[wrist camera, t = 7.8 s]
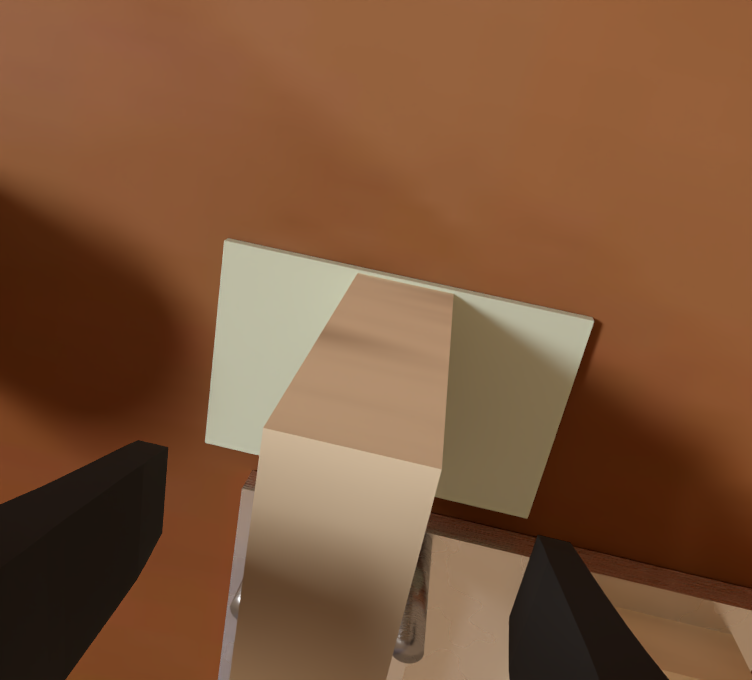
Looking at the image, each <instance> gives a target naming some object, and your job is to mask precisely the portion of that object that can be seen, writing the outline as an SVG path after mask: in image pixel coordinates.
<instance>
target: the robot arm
mask: <svg viewBox="0 0 752 680" xmlns="http://www.w3.org/2000/svg"><path fill="white" fill-rule="evenodd" d="M167 458H168V447H165V446H160V445H156V444H152V443H148V442H144V441H139V440H138V441H135V442H133V443H131V444H129V445H126V446H124V447H122V448H120V449H118V450H116V451H114V452H112V453H110V454H108V455H106V456H104V457H102V458H100V459H98V460H96V461H94V462H92V463H90V464H88V465H86V466H84V467H82V468H80V469H77V470H75V471H73V472H71V473H69V474H67V475H65V476H63V477H61V478H59V479H57V480H55V481H53V482H50V483H48V484H46V485H44V486H42V487H40V488H37V489H35V490H33V491H30V492H28V493H26V494H23V495H21V496H19V497H16V498H14V499H12V500H10V501H7V502H5V503H3V504H0V680H65V679H66V678H67V677H68V675H69V674H70V672H71V671H72V670H73V668H74V667H75V665H76V664H77V663H78V661H79V660H80V658H81V657H82V656H83V654H84V653H85V651H86V650H87V649H88V647H89V646H90V645H91V643H92V642H93V640H94V639H95V638H96V636H97V635H98V633H99V632H100V631H101V629H102V628H103V626H104V625H105V624H106V622H107V621H108V620H109V618H110V617H111V615H112V614H113V613H114V611H115V610H116V608H117V607H118V605H119V604H120V603H121V601H122V600H123V598H124V597H125V596H126V594H127V593H128V591H129V590H130V588H131V587H132V586H133V584H134V583H135V581H136V580H137V578H138V577H139V575H140V573H141V571H142V569H143V568H144V566H145V564H146V562H147V560H148V559H149V557H150V555H151V553H152V551H153V549H154V547H155V545H156V543H157V541H158V539H159V538H160V536H161V534H162V527H163V513H164V500H165V486H166V472H167ZM509 679H510V680H669V679H668V678H667V676H666V675H665V674H664V673H663V671H662V670H661V669H660V668H659V666H658V665H657V664H656V663H655V661H654V660H653V659H652V658H651V656H650V655H649V654H648V653H647V651H646V650H645V649H644V647H643V646H642V645H641V643H640V642H639V641H638V639H637V638H636V637H635V635H634V634H633V633H632V631H631V630H630V629H629V627H628V626H627V624H626V623H625V622H624V620H623V619H622V617H621V616H620V615H619V613H618V612H617V610H616V609H615V608H614V606H613V605H612V603H611V602H610V600H609V599H608V597H607V596H606V595H605V593H604V592H603V590H602V589H601V587H600V586H599V584H598V583H597V581H596V580H595V578H594V577H593V575H592V574H591V572H590V571H589V569H588V568H587V566H586V565H585V563H584V562H583V560H582V559H581V557H580V556H579V554H578V553H577V551H576V550H575V549H574V547H573V546H572V544H571V543H570V542H566V541H562V540H558V539H553V538H549V537H545V536H541V535H537V538H536V541H535V544H534V547H533V550H532V553H531V556H530V558H529V561H528V564H527V567H526V570H525V573H524V576H523V579H522V582H521V584H520V587H519V590H518V593H517V596H516V599H515V602H514V605H513V607H512V610H511V613H510V616H509Z"/></svg>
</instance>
